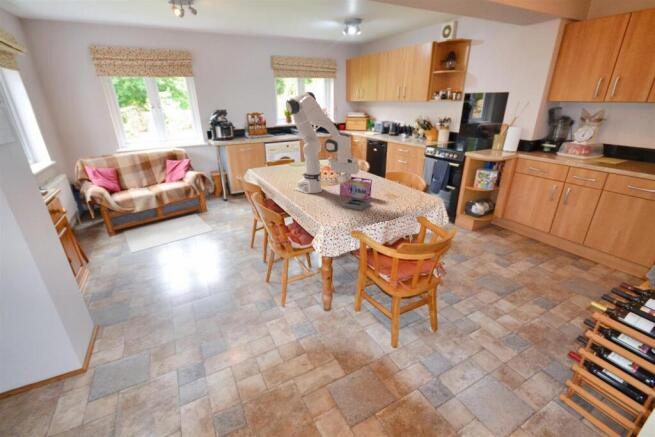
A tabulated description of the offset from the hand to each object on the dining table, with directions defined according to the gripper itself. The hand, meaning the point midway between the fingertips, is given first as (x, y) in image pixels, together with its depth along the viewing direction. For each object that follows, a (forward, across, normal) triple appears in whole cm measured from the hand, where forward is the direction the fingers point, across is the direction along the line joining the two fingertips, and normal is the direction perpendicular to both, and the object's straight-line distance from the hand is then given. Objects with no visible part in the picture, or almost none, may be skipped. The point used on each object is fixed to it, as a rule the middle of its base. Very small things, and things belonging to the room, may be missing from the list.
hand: (344, 179), depth 200 cm
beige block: (+3, 0, 0) cm, 3 cm away
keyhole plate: (+18, +9, +1) cm, 20 cm away
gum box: (+18, -2, +19) cm, 26 cm away
